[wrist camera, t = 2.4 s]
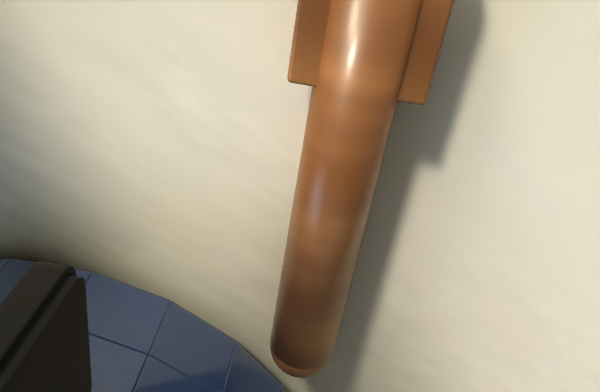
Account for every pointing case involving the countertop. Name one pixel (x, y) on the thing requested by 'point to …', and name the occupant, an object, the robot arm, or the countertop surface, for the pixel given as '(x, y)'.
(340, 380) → the countertop surface
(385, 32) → the stirring stick
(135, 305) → the bowl
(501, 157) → the countertop surface
